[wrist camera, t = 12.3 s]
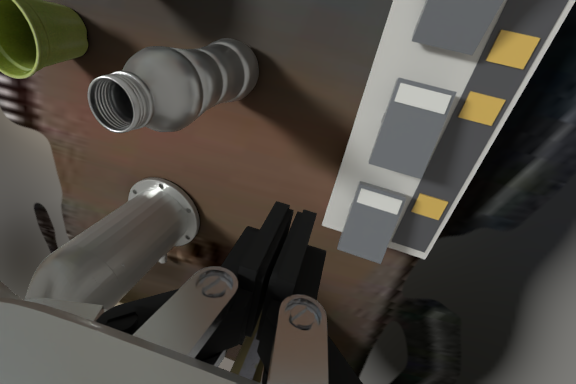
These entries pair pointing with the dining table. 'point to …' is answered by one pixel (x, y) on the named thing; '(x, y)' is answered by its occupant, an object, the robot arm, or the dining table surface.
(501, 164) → the dining table surface
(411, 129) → the switch
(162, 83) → the plastic bottle
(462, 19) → the switch
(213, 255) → the dining table surface
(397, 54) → the switch unit
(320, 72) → the dining table surface
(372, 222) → the switch
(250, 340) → the canister
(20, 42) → the plant pot
